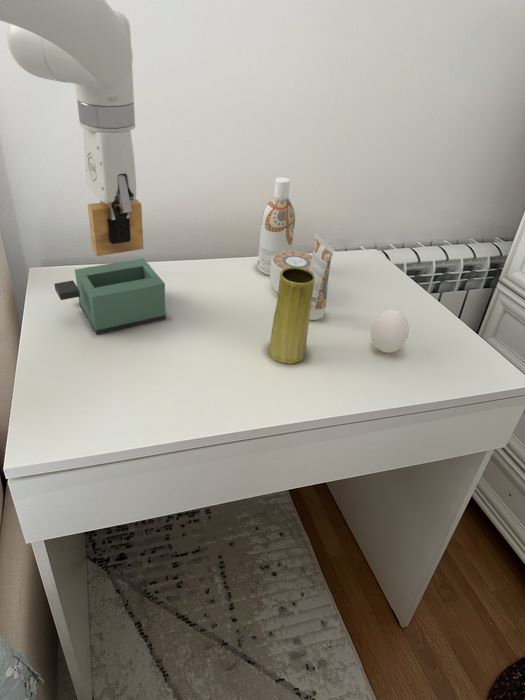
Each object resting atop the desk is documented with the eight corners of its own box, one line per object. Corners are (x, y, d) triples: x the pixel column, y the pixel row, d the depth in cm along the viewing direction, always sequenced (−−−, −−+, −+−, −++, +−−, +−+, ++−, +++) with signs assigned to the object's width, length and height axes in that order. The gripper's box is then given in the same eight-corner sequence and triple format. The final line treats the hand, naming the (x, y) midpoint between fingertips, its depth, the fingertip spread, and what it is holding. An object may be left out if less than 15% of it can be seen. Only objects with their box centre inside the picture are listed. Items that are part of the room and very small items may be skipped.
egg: (361, 340, 92) (370, 302, 88) (394, 338, 93) (405, 301, 89) (374, 361, 87) (384, 322, 83) (408, 359, 88) (420, 320, 84)
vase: (294, 339, 90) (305, 263, 82) (312, 359, 86) (326, 281, 78) (261, 346, 88) (270, 268, 80) (278, 367, 84) (289, 287, 75)
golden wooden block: (97, 256, 83) (92, 209, 79) (92, 250, 85) (87, 204, 81) (143, 249, 87) (141, 203, 82) (138, 243, 88) (135, 198, 84)
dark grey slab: (60, 300, 84) (59, 293, 83) (55, 289, 86) (54, 283, 85) (80, 296, 85) (79, 290, 84) (74, 286, 87) (73, 280, 87)
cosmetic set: (342, 321, 96) (363, 223, 85) (296, 328, 93) (311, 227, 82) (286, 260, 115) (297, 172, 104) (246, 264, 112) (253, 174, 101)
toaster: (96, 334, 87) (92, 297, 82) (79, 305, 93) (74, 269, 89) (165, 319, 92) (165, 283, 88) (145, 292, 99) (143, 258, 95)
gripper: (64, 102, 78) (79, 222, 88) (97, 131, 67) (109, 263, 78) (115, 100, 81) (123, 216, 92) (154, 128, 70) (158, 255, 81)
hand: (117, 237), depth 85 cm, fingers closed on golden wooden block, 2 cm apart
